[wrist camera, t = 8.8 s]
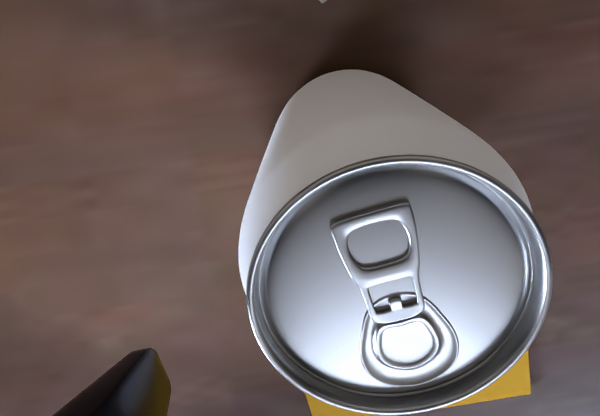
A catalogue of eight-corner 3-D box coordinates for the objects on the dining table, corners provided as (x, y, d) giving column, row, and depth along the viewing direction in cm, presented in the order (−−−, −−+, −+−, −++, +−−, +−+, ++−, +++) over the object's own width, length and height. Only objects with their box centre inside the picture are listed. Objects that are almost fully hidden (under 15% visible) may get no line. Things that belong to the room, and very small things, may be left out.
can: (300, 229, 21) (287, 458, 10) (252, 96, 18) (163, 197, 7) (435, 189, 20) (593, 393, 9) (402, 45, 18) (559, 72, 6)
